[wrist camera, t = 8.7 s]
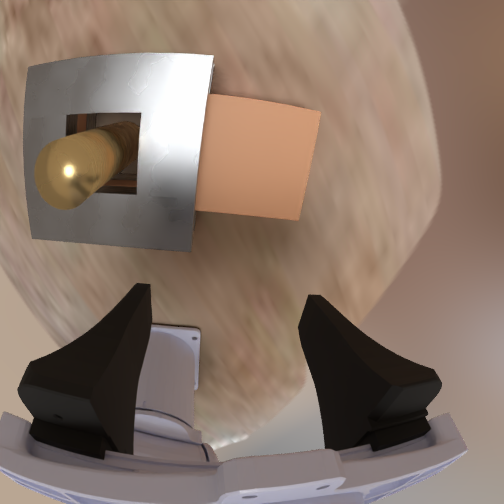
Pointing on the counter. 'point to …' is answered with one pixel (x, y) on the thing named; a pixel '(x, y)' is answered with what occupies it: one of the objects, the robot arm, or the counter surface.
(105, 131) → the brass pin
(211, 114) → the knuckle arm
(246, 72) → the counter surface
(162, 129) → the bracket
